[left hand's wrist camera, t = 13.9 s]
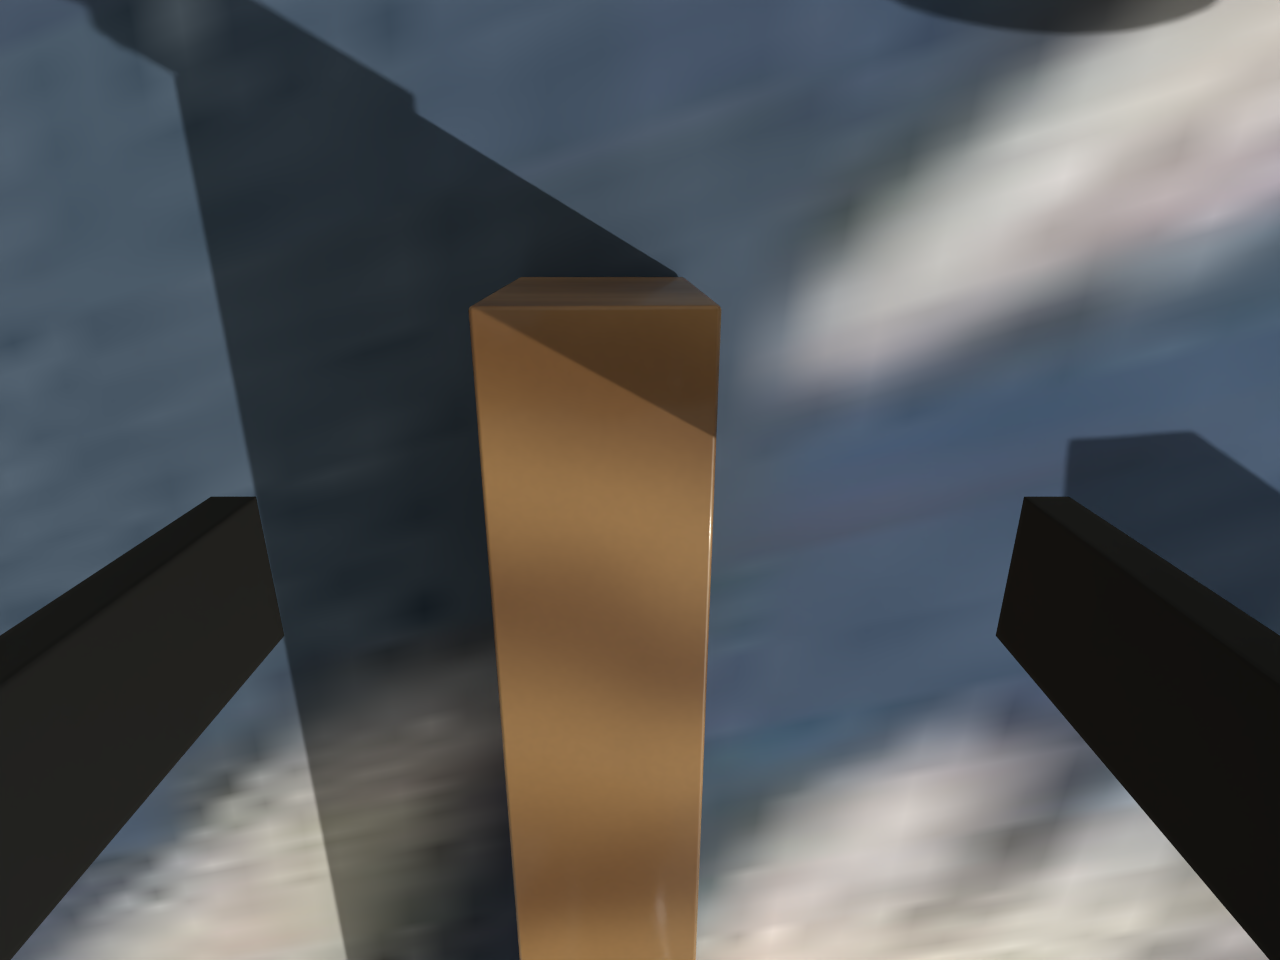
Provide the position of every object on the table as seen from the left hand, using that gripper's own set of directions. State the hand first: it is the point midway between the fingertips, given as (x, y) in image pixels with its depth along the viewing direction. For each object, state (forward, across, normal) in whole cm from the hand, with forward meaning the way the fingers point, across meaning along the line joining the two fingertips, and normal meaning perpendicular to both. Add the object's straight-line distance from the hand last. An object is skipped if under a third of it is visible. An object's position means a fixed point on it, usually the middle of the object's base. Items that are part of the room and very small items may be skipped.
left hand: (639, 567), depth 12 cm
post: (+11, -1, -24) cm, 27 cm away
